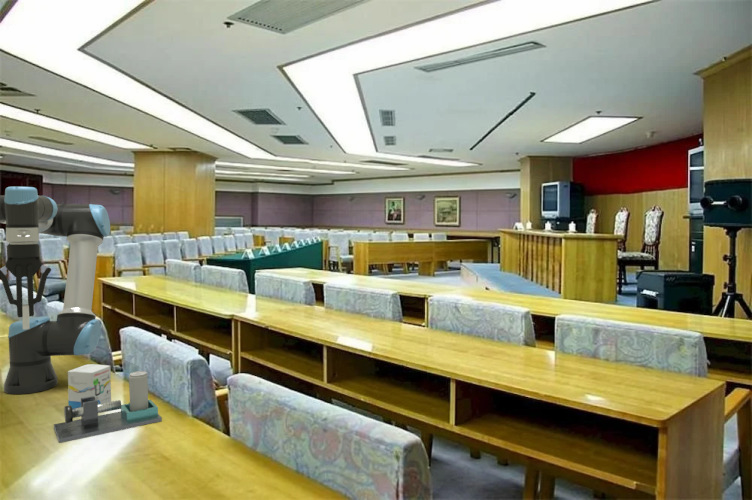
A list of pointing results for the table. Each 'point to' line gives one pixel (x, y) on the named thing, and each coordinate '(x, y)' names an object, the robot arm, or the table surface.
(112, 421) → the bolt fixture plate
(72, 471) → the table surface
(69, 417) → the shaft
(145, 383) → the beverage can
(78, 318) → the robot arm
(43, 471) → the table surface
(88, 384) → the ink box
